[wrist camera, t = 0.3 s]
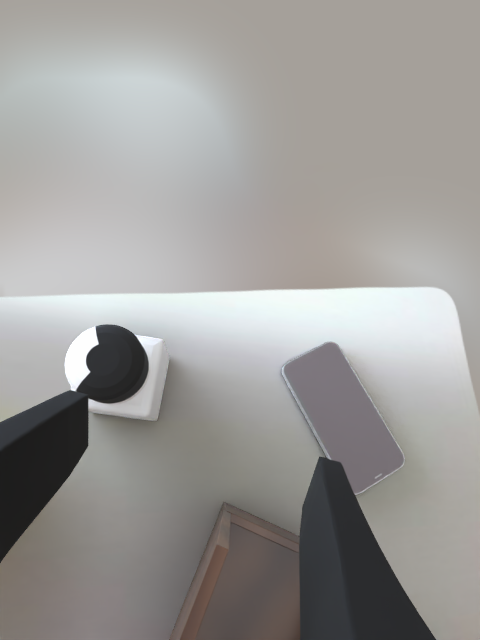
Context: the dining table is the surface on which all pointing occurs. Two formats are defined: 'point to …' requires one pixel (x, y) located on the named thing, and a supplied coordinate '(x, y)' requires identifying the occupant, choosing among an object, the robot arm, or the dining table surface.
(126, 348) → the medicine bottle
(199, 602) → the lid
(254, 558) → the box
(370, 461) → the smartphone
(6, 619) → the dining table surface
